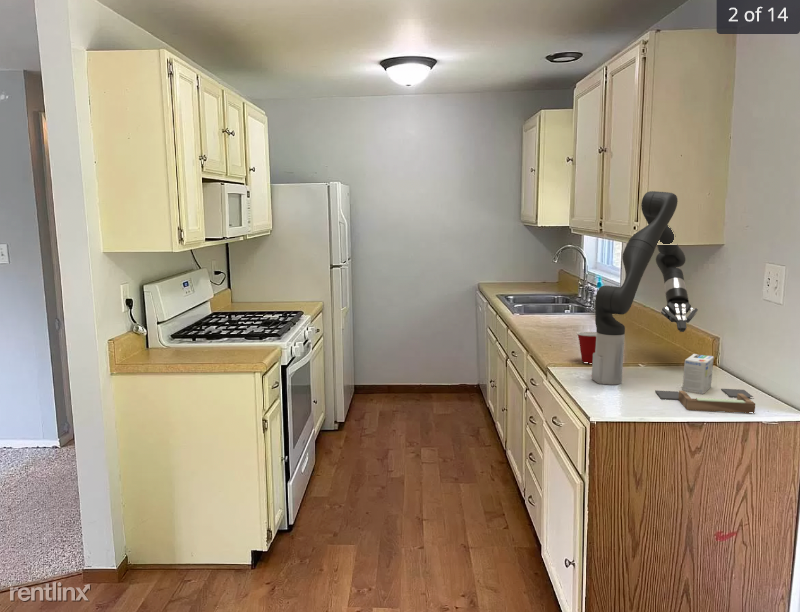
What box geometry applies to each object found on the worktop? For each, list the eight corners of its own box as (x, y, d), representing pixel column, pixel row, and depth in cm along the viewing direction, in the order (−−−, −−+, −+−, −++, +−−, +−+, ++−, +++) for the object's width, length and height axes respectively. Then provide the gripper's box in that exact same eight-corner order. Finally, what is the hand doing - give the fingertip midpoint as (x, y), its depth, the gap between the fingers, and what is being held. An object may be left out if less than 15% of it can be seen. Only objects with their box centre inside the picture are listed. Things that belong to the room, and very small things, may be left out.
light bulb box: (690, 383, 210) (692, 353, 209) (711, 387, 206) (714, 356, 204) (681, 390, 202) (684, 359, 200) (703, 394, 198) (706, 362, 196)
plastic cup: (598, 359, 244) (600, 329, 242) (608, 365, 233) (610, 335, 232) (571, 359, 244) (572, 329, 242) (580, 366, 233) (581, 335, 231)
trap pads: (651, 386, 207) (651, 385, 206) (744, 391, 202) (744, 389, 202) (661, 399, 193) (661, 397, 193) (761, 404, 188) (761, 402, 188)
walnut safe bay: (678, 399, 193) (679, 389, 192) (741, 403, 189) (742, 392, 189) (687, 409, 183) (688, 399, 182) (754, 413, 180) (755, 402, 179)
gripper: (659, 286, 231) (665, 324, 221) (697, 287, 229) (704, 325, 219) (655, 298, 237) (661, 335, 227) (692, 299, 235) (699, 336, 225)
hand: (682, 330), depth 223 cm, fingers closed
